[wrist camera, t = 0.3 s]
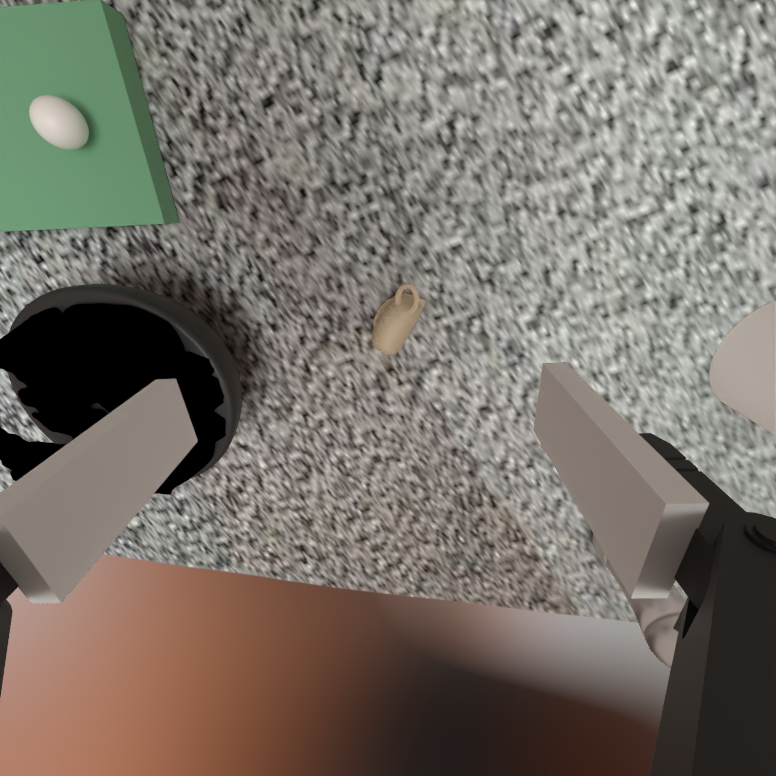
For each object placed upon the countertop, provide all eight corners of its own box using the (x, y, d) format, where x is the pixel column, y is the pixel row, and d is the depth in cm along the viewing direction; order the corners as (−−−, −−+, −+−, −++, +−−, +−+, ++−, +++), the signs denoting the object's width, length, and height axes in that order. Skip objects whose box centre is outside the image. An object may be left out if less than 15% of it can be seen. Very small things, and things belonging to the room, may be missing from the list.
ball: (47, 102, 30) (6, 90, 27) (89, 99, 30) (52, 87, 27) (66, 153, 31) (29, 148, 28) (106, 151, 31) (73, 145, 28)
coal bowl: (108, 417, 46) (-59, 539, 29) (73, 250, 37) (-194, 289, 21) (267, 441, 47) (194, 573, 30) (271, 285, 38) (170, 349, 22)
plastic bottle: (639, 511, 51) (770, 680, 33) (628, 546, 54) (742, 717, 36) (591, 512, 51) (694, 680, 33) (583, 547, 54) (673, 717, 36)
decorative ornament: (362, 337, 41) (357, 355, 36) (401, 269, 37) (401, 278, 32) (394, 354, 41) (393, 374, 37) (435, 289, 38) (440, 302, 33)
